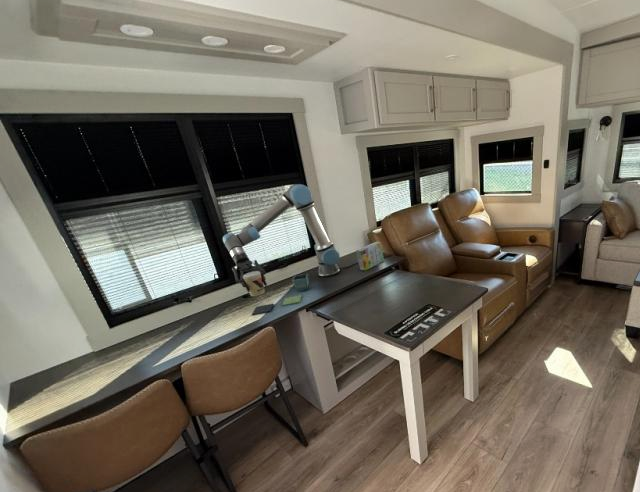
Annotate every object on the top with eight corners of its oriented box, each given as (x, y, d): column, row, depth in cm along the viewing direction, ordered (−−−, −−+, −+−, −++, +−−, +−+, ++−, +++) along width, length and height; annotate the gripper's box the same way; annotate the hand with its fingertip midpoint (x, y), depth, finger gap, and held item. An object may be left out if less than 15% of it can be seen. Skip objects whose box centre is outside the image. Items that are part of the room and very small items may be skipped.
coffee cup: (260, 296, 174) (253, 276, 169) (245, 297, 176) (238, 277, 172) (269, 289, 182) (263, 270, 178) (255, 290, 185) (249, 271, 180)
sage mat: (301, 296, 194) (301, 295, 194) (299, 302, 185) (299, 301, 185) (285, 299, 193) (284, 298, 193) (282, 306, 184) (282, 304, 184)
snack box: (379, 260, 240) (375, 241, 234) (384, 261, 236) (381, 241, 231) (359, 270, 225) (355, 250, 219) (365, 271, 222) (361, 250, 216)
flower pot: (311, 285, 209) (307, 273, 205) (309, 290, 201) (306, 277, 197) (297, 288, 208) (294, 275, 205) (295, 293, 200) (292, 280, 197)
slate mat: (273, 304, 188) (273, 303, 188) (270, 311, 179) (269, 310, 178) (256, 308, 187) (256, 306, 186) (252, 315, 178) (251, 314, 177)
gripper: (258, 255, 190) (275, 284, 185) (220, 266, 178) (237, 298, 172) (258, 247, 184) (276, 277, 179) (219, 258, 172) (237, 291, 166)
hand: (257, 287), depth 175 cm, fingers closed on coffee cup, 9 cm apart
